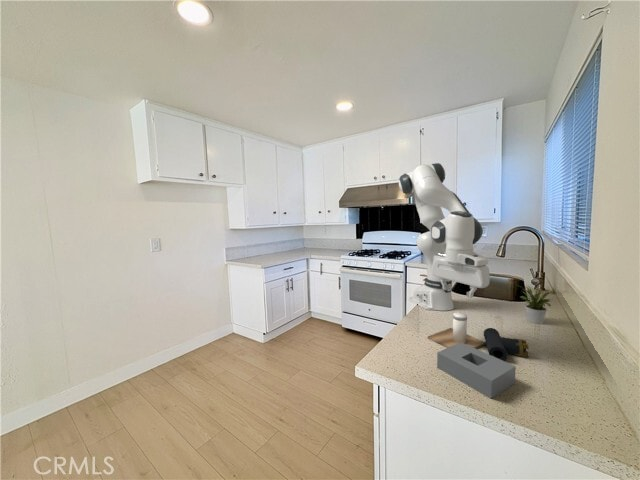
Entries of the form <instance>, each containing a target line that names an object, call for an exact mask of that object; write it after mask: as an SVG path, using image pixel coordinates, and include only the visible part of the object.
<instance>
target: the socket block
mask: <svg viewBox="0 0 640 480" xmlns="http://www.w3.org/2000/svg"><path fill="white" fill-rule="evenodd" d="M436 355H437V356H436V357H437V358H436V359H437V360H436V361H437V362H436V365H437V366H436V368H437V369H439V370H441V371H442V372H444V373H447V374H448V375H449V376H451V377H453V378H455V379H456V380H458V381H460V382H461V383H463V384H464V385H467V386H468V387H470V388H472V389H473V390H475V391H477V392H479V393H480V394H481V395H484V396H485V397H487V398H489V399H493V398H495V397H496V396H498V395H499V394H500V393H502V392H503V391H505V390H507V389H508V388H510V387H511V386H513V385H514V384H515V383H516V369H517V367H516V365H515V364H514V365H513V364H511V363H509V362H507V361H506V360H505V361H502V360H500V359H498V358H496V357H493V356H491V355H489V353H486V352H484V351H482V350H479V348H477V349H475V348H473V347H471V346H469V345H466V344H464V343H462V342H460V343H458V344H456V345H453V346H451V347H449V348H446V347H445V349H442V350H440V351H437V353H436Z"/></svg>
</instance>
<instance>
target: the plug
mask: <svg viewBox="0 0 640 480" xmlns="http://www.w3.org/2000/svg"><path fill="white" fill-rule="evenodd" d="M467 321H468V315H467V314H466V313H464V312H454V313H453V314H452V328H453V341H454V342H456V343H460V342H462V343H464V344H465V343H466V334H468V333H467V332H468V331H467V328H468V322H467Z"/></svg>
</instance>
